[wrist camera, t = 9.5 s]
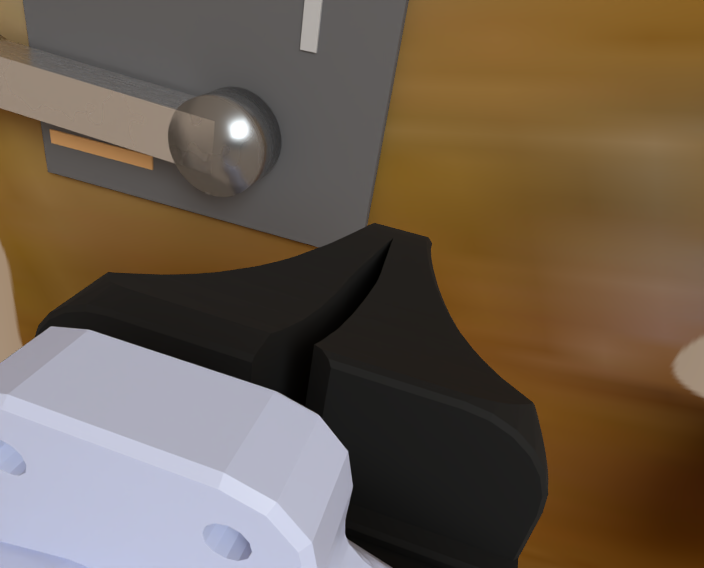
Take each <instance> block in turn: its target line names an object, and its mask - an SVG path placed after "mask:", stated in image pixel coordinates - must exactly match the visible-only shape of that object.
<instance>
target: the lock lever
mask: <svg viewBox="0 0 704 568" xmlns="http://www.w3.org/2000/svg"><path fill="white" fill-rule="evenodd" d="M0 108H1V109H5V110H8V111H11V112H14V113H17V114H20V115H24V116H27V117H30V118H33V119H36V120H39V121H43V122H46V123H49V124H52V125H55V126H58V127H61V128H65V129H68V130H71V131H74V132H77V133H80V134H84V135H87V136H90V137H93V138H96V139H99V140H103V141H106V142H109V143H112V144H115V145H118V146H121V147H125V148H128V149H131V150H134V151H137V152H140V153H144V154H147V155H150V156H153V157H156V158H159V159H163V160H166V161H169V162H172V163H175V165H176V167H177V168H178V170H179V171H180V173H181V174H182V175H183V177H184V178H185V179H186V180H187V181H188V182H189V183H190V184H192V185H193V186H194V187H196V188H197V189H199V190H200V191H202V192H204V193H207V194H209V195H213V196H218V197H229V196H234V195H237V194H239V193H241V192H243V191H244V190H245V189H247V188H248V187H249V186H251V185H252V184H253V183H255V182H256V181H258V180H259V179H260V178H262V177H263V176H264V175H266V174H267V173H268V172H269V171H270V170H271V169H272V168H273V167H274V166H275V164H276V162H277V160H278V158H279V155H280V152H281V144H282V140H281V131H280V127H279V124H278V121H277V119H276V117H275V115H274V113H273V111H272V110H271V109H270V107H269V106H268V105H267V104H266V102H265V101H264V100H262V99H261V98H260V97H259V96H258V95H256V94H255V93H253V92H251V91H249V90H247V89H244V88H240V87H233V86H229V87H223V88H219V89H216V90H214V91H211V92H208V93H205V94H203V95H200V96H194V95H190V94H187V93H183V92H180V91H177V90H173V89H170V88H167V87H163V86H160V85H156V84H153V83H150V82H146V81H143V80H139V79H136V78H133V77H129V76H126V75H123V74H119V73H116V72H112V71H109V70H106V69H102V68H99V67H96V66H92V65H89V64H85V63H82V62H79V61H75V60H72V59H69V58H65V57H62V56H58V55H55V54H52V53H48V52H45V51H42V50H38V49H35V48H31V47H28V46H25V45H21V44H18V43H15V42H11V41H8V40H6V39H5V38H4V37H3V36H1V35H0Z"/></svg>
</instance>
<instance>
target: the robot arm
mask: <svg viewBox="0 0 704 568" xmlns="http://www.w3.org/2000/svg"><path fill="white" fill-rule="evenodd" d="M431 246H432V243H431V241H430V239H429V238H428V237H425V236H421V235H417V234H414V233H410V232H406V231H403V230H399V229H395V228H391V227H388V226H384V225H380V224H376V223H373V224H371V225H368V226H366V227H364V228H362V229H360V230H358V231H356V232H354V233H352V234H349V235H347V236H345V237H343V238H341V239H338V240H336V241H334V242H332V243H330V244H327V245H325V246H322V247H319V248H317V249H314V250H311V251H309V252H306V253H303V254H301V255H298V256H295V257H292V258H289V259H285V260H282V261H278V262H274V263H270V264H265V265H261V266H256V267H250V268H243V269H237V270H230V271H223V272H215V273H201V274H179V275H155V274H130V273H112V272H108V273H106V274H105V275H103V276H102V277H100V278H99V279H97V280H96V281H95V282H93V283H92V284H90V285H89V286H87V287H86V288H85V289H83V290H82V291H80V292H79V293H77V294H76V295H75V296H73V297H72V298H70V299H69V300H67V301H66V302H64V303H63V304H62V305H60V306H59V307H57V308H56V309H54V310H53V311H52V312H50V313H49V314H48V315H47V316H46V317H45V319H44V320H43V321H42V322H41V323H40V324H39V326H38V329H37V332H36V335H35V338H34V339H33V340H31V341H30V342H28V343H27V344H26V345H24V346H23V347H21V348H20V349H19V350H18V351H16V352H15V353H13V354H12V355H10V356H9V357H8V358H6V359H5V360H4V361H2V362H1V363H0V568H518V557H519V555H520V554H521V552H522V550H523V548H524V546H525V544H526V542H527V540H528V539H529V537H530V535H531V533H532V531H533V529H534V527H535V526H536V524H537V522H538V520H539V518H540V516H541V514H542V512H543V509H544V506H545V502H546V499H547V496H548V469H547V460H546V453H545V448H544V443H543V438H542V433H541V429H540V424H539V420H538V416H537V412H536V409H535V405H534V404H533V402H532V401H530V400H529V399H528V398H526V397H525V396H524V395H523V394H521V393H520V392H519V391H518V390H516V389H515V388H514V387H512V386H511V385H510V384H509V383H507V382H506V381H505V380H503V379H502V378H501V377H500V376H499V375H498V374H497V373H496V372H495V371H494V370H493V369H492V368H490V367H489V366H488V365H487V364H486V363H485V362H484V361H483V360H482V359H481V357H480V356H479V355H478V354H477V353H476V352H475V351H474V350H473V349H472V347H471V346H470V345H469V343H468V342H467V341H466V340H465V338H464V337H463V336H462V334H461V333H460V332H459V330H458V329H457V327H456V325H455V323H454V322H453V320H452V318H451V316H450V314H449V312H448V310H447V308H446V306H445V304H444V301H443V298H442V296H441V293H440V291H439V288H438V285H437V281H436V278H435V274H434V270H433V266H432V260H431Z"/></svg>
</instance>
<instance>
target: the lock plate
mask: <svg viewBox="0 0 704 568" xmlns="http://www.w3.org/2000/svg"><path fill="white" fill-rule="evenodd" d="M408 1H409V0H23V5H24V12H25V19H26V25H27V32H28V39H29V46H30V47H31V48H35V49H38V50H42V51H45V52H48V53H52V54H55V55H58V56H62V57H65V58H69V59H72V60H75V61H79V62H82V63H85V64H89V65H92V66H96V67H99V68H102V69H106V70H109V71H112V72H116V73H119V74H123V75H126V76H129V77H133V78H136V79H139V80H143V81H146V82H150V83H153V84H156V85H160V86H163V87H167V88H170V89H173V90H177V91H180V92H183V93H187V94H190V95H194V96H200V95H203V94H205V93H208V92H211V91H214V90H216V89H219V88H223V87H229V86H233V87H240V88H244V89H247V90H249V91H251V92H253V93H255V94H256V95H258V96H259V97H260V98H261V99H262V100H264V101H265V102H266V104H267V105H268V106H269V107H270V109H271V110H272V111H273V113H274V115H275V117H276V119H277V121H278V124H279V127H280V131H281V140H282V144H281V152H280V155H279V158H278V160H277V162H276V164H275V166H274V167H273V168H272V169H271V170H270V171H269V172H268V173H267V174H266V175H264V176H263V177H262V178H260V179H259V180H258V181H256V182H255V183H253V184H252V185H251V186H249V187H248V188H247V189H245V190H244V191H243V192H241V193H239V194H237V195H234V196H229V197H218V196H213V195H209V194H207V193H204V192H202V191H200V190H199V189H197V188H196V187H194V186H193V185H192V184H190V183H189V182H188V181H187V180H186V179H185V178H184V177H183V175H182V174H181V173H180V171H179V170H178V168H177V167H176V165H175V163H172V162H169V161H166V160H163V159H159V158H156V157H153V156H150V155H147V154H144V153H140V152H137V151H134V150H131V149H128V148H125V147H121V146H118V145H115V144H112V143H109V142H106V141H103V140H99V139H96V138H93V137H90V136H87V135H84V134H80V133H77V132H74V131H71V130H68V129H65V128H61V127H58V126H55V125H52V124H49V123H46V122H43V121H41V127H42V134H43V141H44V148H45V155H46V161H47V168H48V172H51V173H55V174H58V175H62V176H65V177H69V178H73V179H76V180H80V181H83V182H87V183H90V184H94V185H98V186H101V187H105V188H108V189H112V190H115V191H119V192H123V193H126V194H130V195H133V196H137V197H141V198H144V199H148V200H151V201H155V202H158V203H162V204H166V205H169V206H173V207H176V208H180V209H184V210H187V211H191V212H194V213H198V214H201V215H205V216H209V217H212V218H216V219H219V220H223V221H226V222H230V223H234V224H237V225H241V226H244V227H248V228H252V229H255V230H259V231H262V232H266V233H269V234H273V235H277V236H280V237H284V238H287V239H291V240H295V241H298V242H302V243H305V244H309V245H312V246H316V247H322V246H325V245H327V244H330V243H332V242H334V241H336V240H338V239H341V238H343V237H345V236H347V235H349V234H352V233H354V232H356V231H358V230H360V229H362V228H364V227H366V226H367V223H368V218H369V212H370V207H371V201H372V196H373V191H374V185H375V180H376V174H377V169H378V164H379V158H380V153H381V147H382V142H383V136H384V131H385V126H386V120H387V115H388V109H389V104H390V99H391V93H392V88H393V82H394V77H395V72H396V66H397V61H398V55H399V50H400V44H401V39H402V34H403V28H404V23H405V17H406V12H407V7H408Z"/></svg>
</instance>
